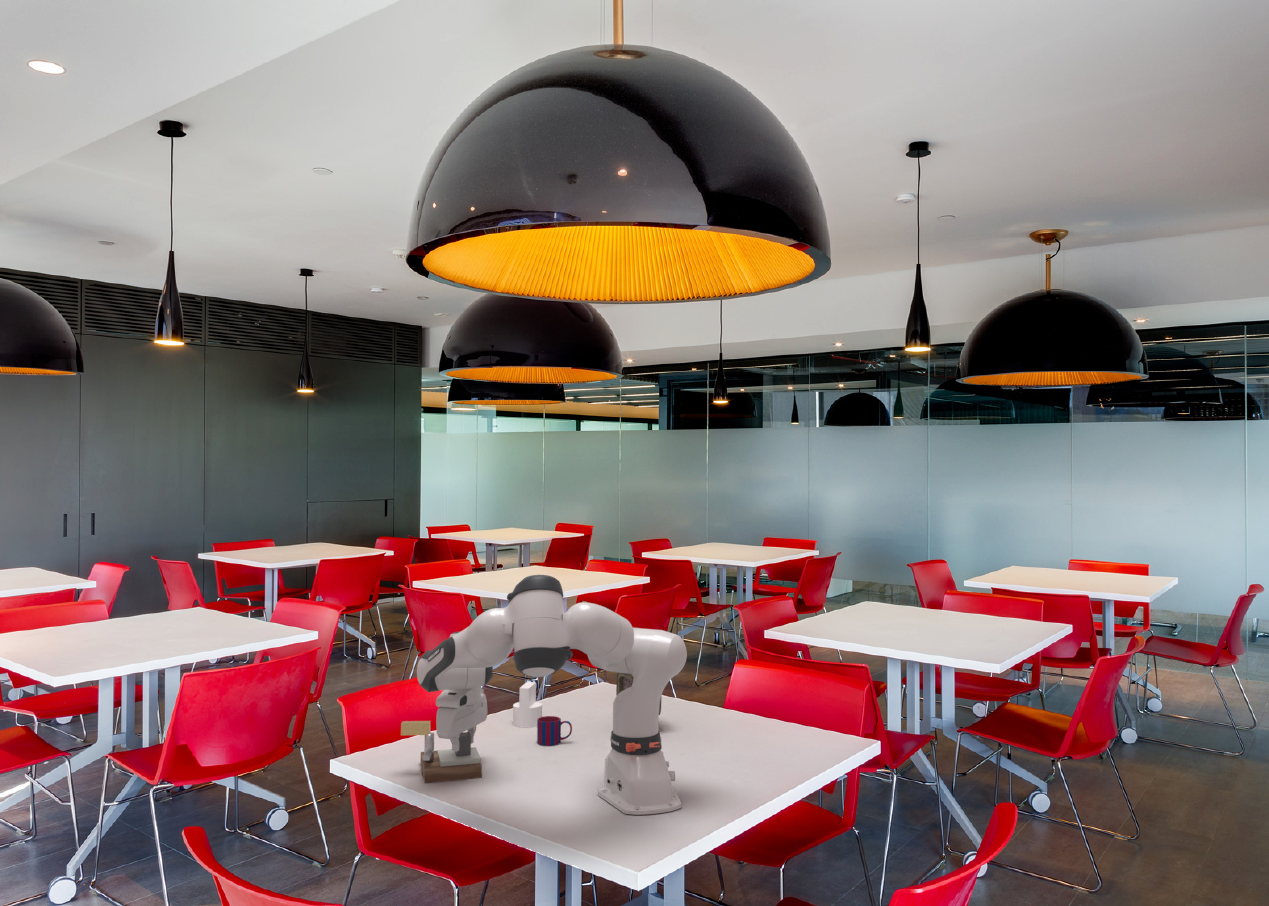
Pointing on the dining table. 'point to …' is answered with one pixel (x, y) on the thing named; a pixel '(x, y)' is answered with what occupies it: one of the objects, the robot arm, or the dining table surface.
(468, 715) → the robot arm
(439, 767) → the housing
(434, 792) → the dining table surface
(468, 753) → the cover
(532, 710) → the cylinder with rectangular tab
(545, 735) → the mug
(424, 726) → the post with tan bar
